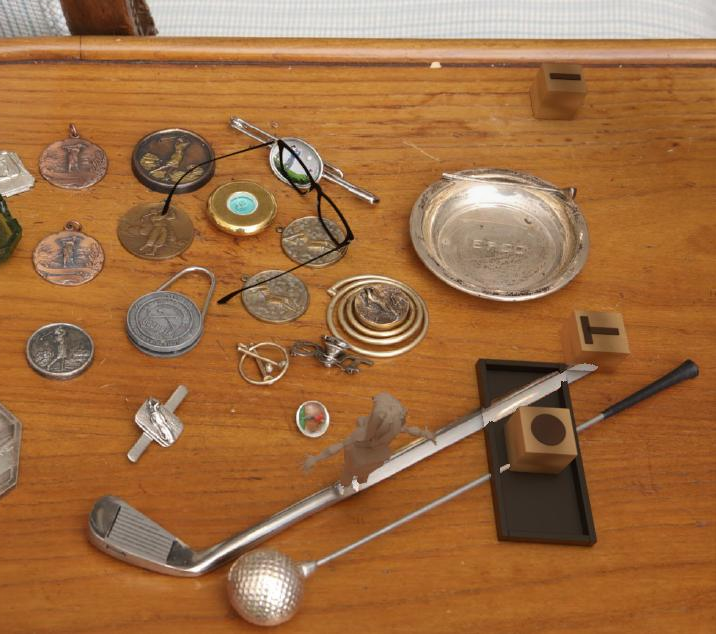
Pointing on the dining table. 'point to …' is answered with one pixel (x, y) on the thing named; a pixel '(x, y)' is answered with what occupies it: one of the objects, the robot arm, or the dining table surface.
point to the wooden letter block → (595, 340)
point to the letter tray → (526, 489)
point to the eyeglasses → (314, 185)
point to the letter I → (558, 91)
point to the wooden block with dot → (539, 440)
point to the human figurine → (370, 440)
